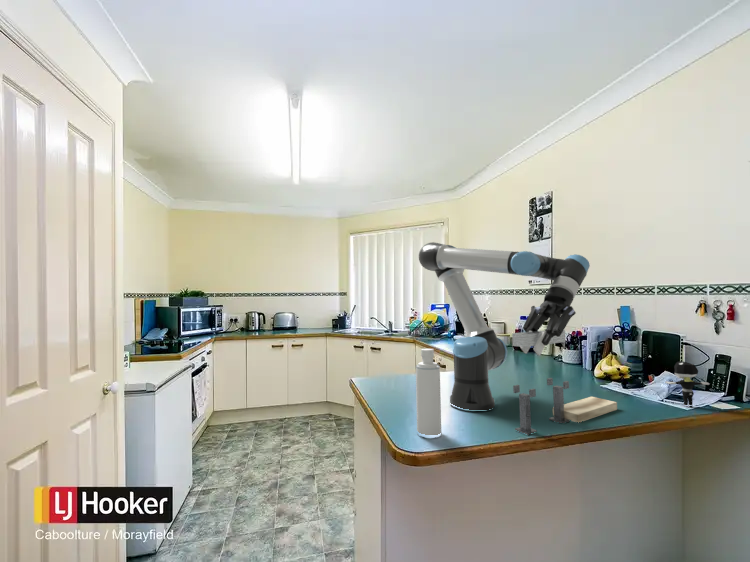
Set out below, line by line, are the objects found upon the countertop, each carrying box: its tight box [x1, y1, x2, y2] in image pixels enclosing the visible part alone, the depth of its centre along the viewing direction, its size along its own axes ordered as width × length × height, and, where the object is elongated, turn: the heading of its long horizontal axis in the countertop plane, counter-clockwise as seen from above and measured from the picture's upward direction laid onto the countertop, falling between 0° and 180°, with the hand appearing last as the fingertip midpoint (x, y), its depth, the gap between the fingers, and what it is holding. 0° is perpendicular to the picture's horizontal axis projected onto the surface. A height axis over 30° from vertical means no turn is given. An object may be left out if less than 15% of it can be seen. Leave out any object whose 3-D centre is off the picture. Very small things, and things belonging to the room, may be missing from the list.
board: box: [552, 396, 618, 424], centre depth 110 cm, size 8×23×2 cm, turn 120°
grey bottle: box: [415, 348, 442, 435], centre depth 95 cm, size 7×7×25 cm
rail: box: [511, 329, 566, 347], centre depth 100 cm, size 4×20×4 cm, turn 120°
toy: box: [664, 360, 710, 406], centre depth 115 cm, size 13×6×15 cm, turn 84°
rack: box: [512, 377, 570, 436], centre depth 99 cm, size 6×20×12 cm, turn 120°
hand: (530, 351), depth 98 cm, fingers closed on rail, 3 cm apart
